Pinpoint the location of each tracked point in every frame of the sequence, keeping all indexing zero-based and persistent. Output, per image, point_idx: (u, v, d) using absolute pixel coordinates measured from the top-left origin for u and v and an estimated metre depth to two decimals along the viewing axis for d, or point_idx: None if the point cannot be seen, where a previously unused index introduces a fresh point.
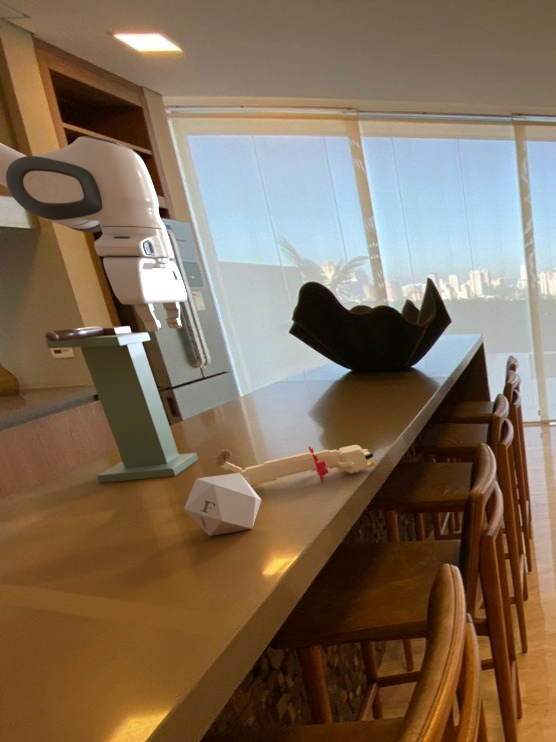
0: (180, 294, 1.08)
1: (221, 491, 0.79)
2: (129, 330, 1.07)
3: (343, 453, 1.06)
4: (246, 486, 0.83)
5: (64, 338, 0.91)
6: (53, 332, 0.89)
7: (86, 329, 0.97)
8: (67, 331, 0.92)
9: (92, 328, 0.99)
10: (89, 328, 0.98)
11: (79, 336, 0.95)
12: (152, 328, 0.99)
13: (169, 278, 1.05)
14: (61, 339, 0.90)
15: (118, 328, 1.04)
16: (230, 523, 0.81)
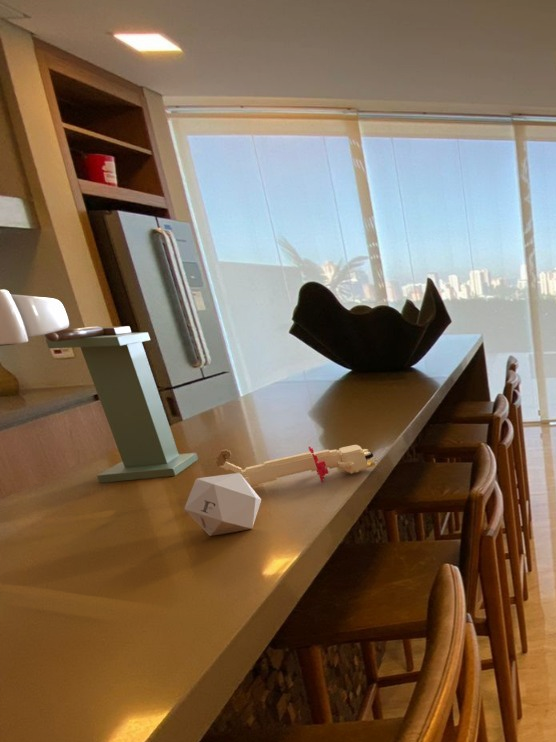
0: None
1: (221, 491, 0.79)
2: (129, 330, 1.07)
3: (343, 453, 1.06)
4: (246, 486, 0.83)
5: (64, 338, 0.91)
6: (53, 332, 0.89)
7: (86, 329, 0.97)
8: (67, 331, 0.92)
9: (92, 328, 0.99)
10: (89, 328, 0.98)
11: (79, 336, 0.95)
12: None
13: None
14: (61, 339, 0.90)
15: (118, 328, 1.04)
16: (230, 523, 0.81)
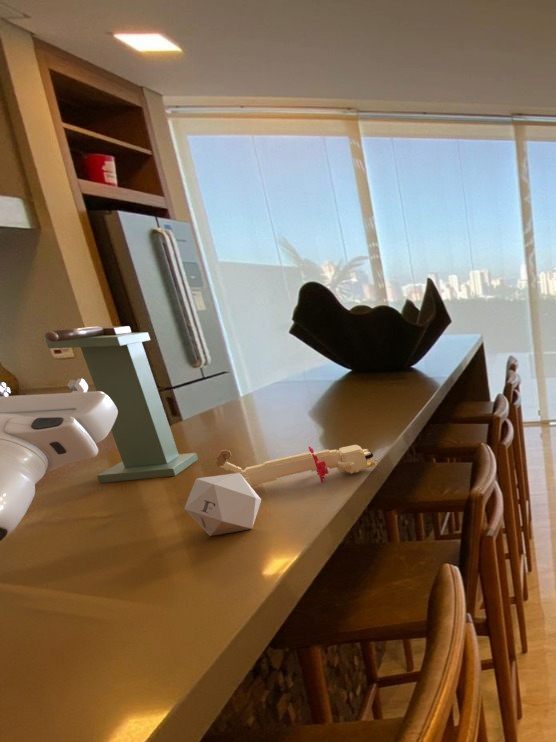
0: None
1: (221, 491, 0.79)
2: (129, 330, 1.07)
3: (343, 453, 1.06)
4: (246, 486, 0.83)
5: (64, 338, 0.91)
6: (53, 332, 0.89)
7: (86, 329, 0.97)
8: (67, 331, 0.92)
9: (92, 328, 0.99)
10: (89, 328, 0.98)
11: (79, 336, 0.95)
12: (84, 383, 0.87)
13: None
14: (61, 339, 0.90)
15: (118, 328, 1.04)
16: (230, 523, 0.81)
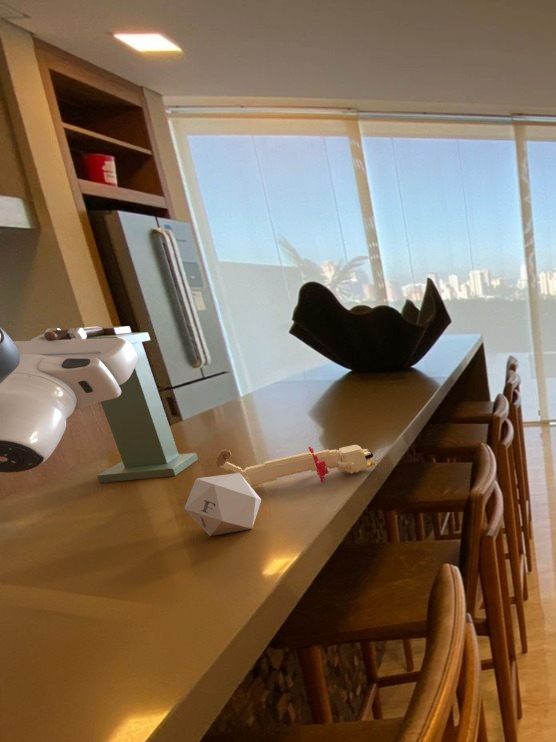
0: None
1: (221, 491, 0.79)
2: (129, 330, 1.07)
3: (343, 453, 1.06)
4: (246, 486, 0.83)
5: (64, 338, 0.91)
6: (52, 332, 0.89)
7: (86, 329, 0.97)
8: (67, 331, 0.92)
9: (92, 328, 0.99)
10: (89, 328, 0.98)
11: None
12: (82, 332, 0.93)
13: None
14: (61, 339, 0.90)
15: (118, 328, 1.04)
16: (230, 523, 0.81)
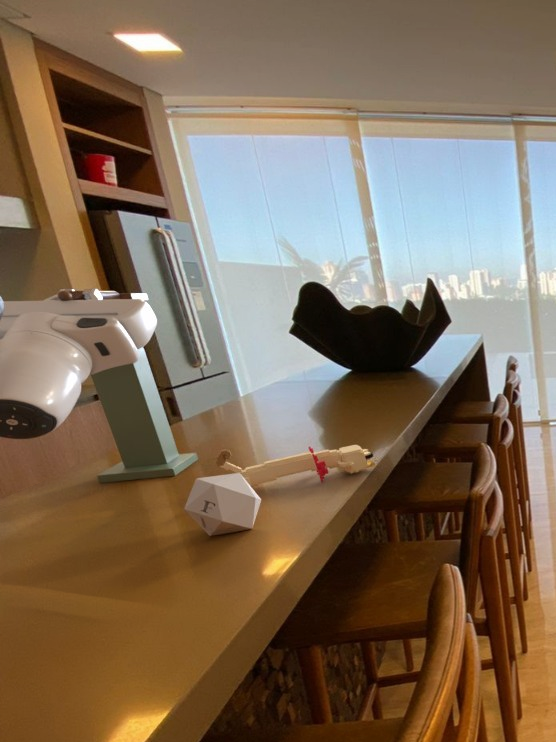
0: (7, 304, 0.80)
1: (221, 491, 0.79)
2: (146, 297, 1.01)
3: (343, 453, 1.06)
4: (246, 486, 0.83)
5: (78, 299, 0.85)
6: (66, 291, 0.82)
7: (101, 292, 0.91)
8: (82, 292, 0.86)
9: (108, 292, 0.92)
10: (105, 292, 0.92)
11: None
12: (98, 294, 0.87)
13: None
14: None
15: (135, 294, 0.97)
16: (230, 523, 0.81)
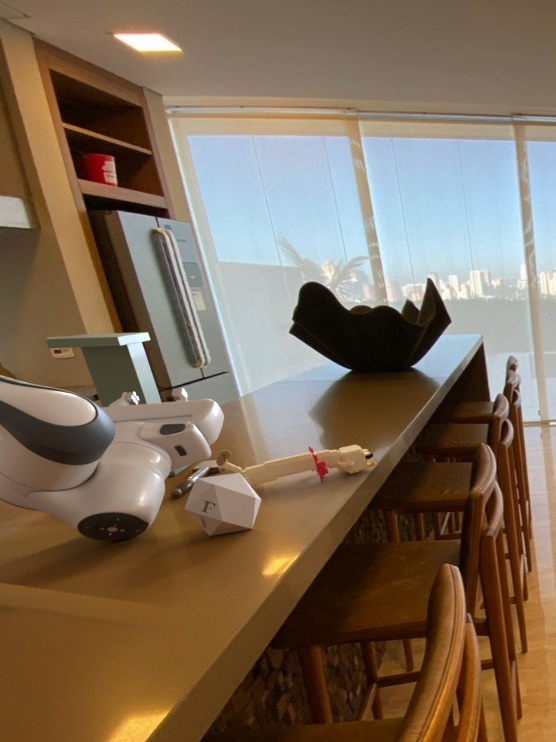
0: None
1: (221, 491, 0.79)
2: None
3: (343, 453, 1.06)
4: (246, 486, 0.83)
5: (185, 492, 0.99)
6: (177, 489, 0.97)
7: (198, 475, 1.05)
8: (186, 484, 1.00)
9: (202, 471, 1.07)
10: (200, 472, 1.06)
11: None
12: (184, 392, 0.96)
13: None
14: (183, 494, 0.98)
15: None
16: (230, 523, 0.81)
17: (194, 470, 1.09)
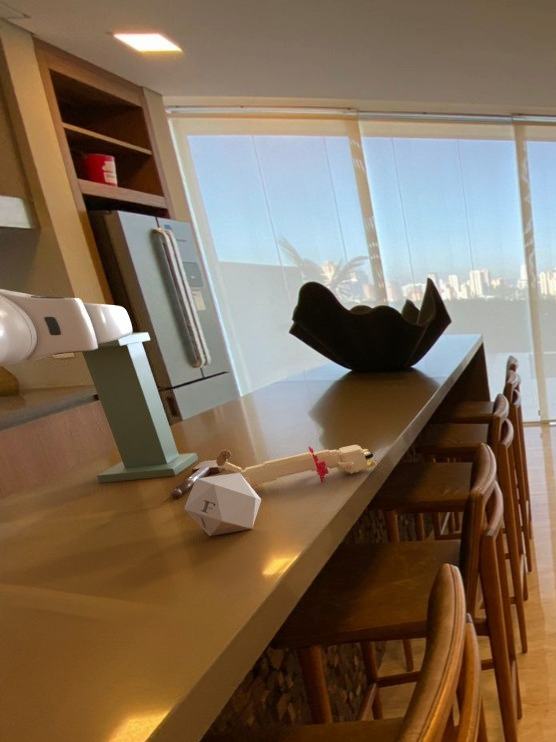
0: None
1: (221, 491, 0.79)
2: None
3: (343, 453, 1.06)
4: (246, 486, 0.83)
5: (185, 492, 0.99)
6: (177, 489, 0.97)
7: (198, 475, 1.05)
8: (186, 484, 1.00)
9: (202, 471, 1.07)
10: (200, 472, 1.06)
11: None
12: None
13: None
14: (183, 494, 0.98)
15: None
16: (230, 523, 0.81)
17: (194, 470, 1.09)
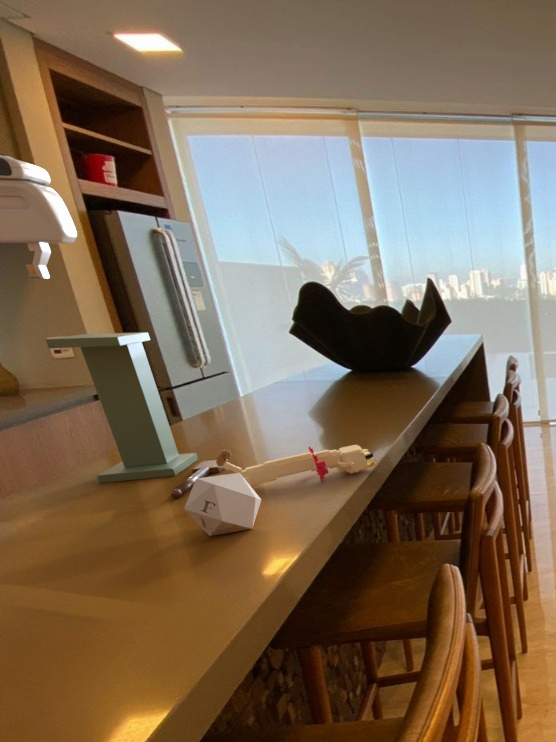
0: None
1: (221, 491, 0.79)
2: None
3: (343, 453, 1.06)
4: (246, 486, 0.83)
5: (185, 492, 0.99)
6: (177, 489, 0.97)
7: (198, 475, 1.05)
8: (186, 484, 1.00)
9: (202, 471, 1.07)
10: (200, 472, 1.06)
11: None
12: (46, 274, 0.80)
13: None
14: (183, 494, 0.98)
15: None
16: (230, 523, 0.81)
17: (194, 470, 1.09)
